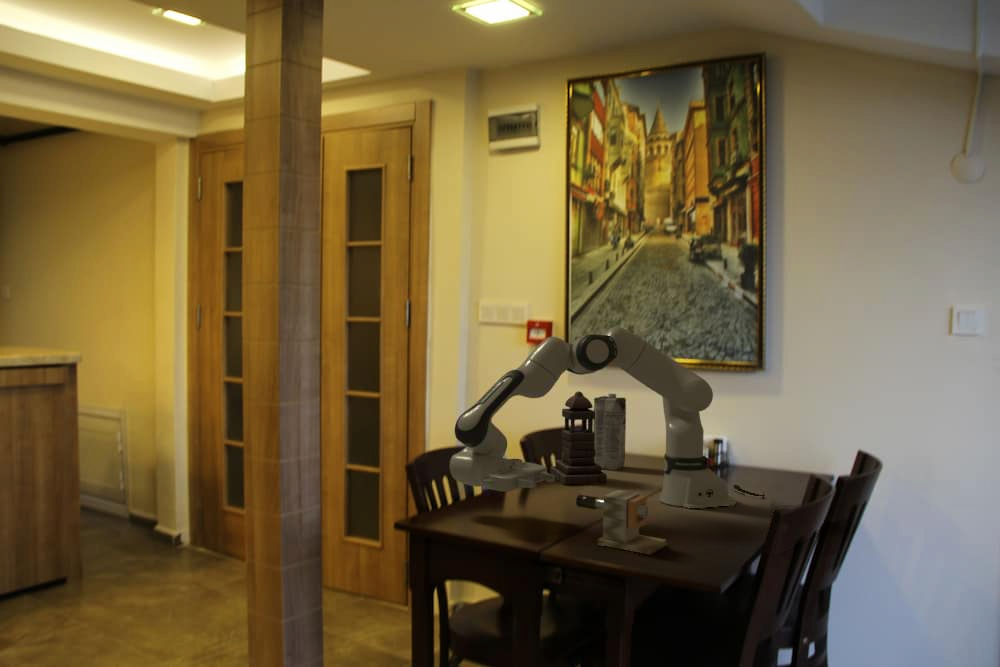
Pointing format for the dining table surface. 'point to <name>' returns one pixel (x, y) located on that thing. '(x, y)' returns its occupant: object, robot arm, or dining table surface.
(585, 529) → the dining table surface
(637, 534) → the bearing frame
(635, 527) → the orange upright panel
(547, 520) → the dining table surface
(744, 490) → the curved wedge
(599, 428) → the battery
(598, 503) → the shaft
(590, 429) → the miniature tower
